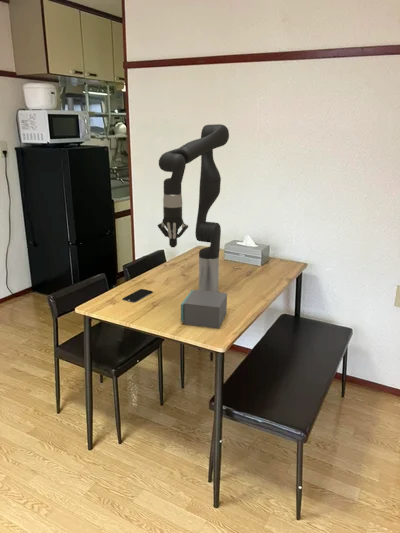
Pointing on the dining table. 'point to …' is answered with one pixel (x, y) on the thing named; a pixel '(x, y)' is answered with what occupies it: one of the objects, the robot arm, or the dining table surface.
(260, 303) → the dining table surface
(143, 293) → the smartphone
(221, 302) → the housing
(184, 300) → the drawer
